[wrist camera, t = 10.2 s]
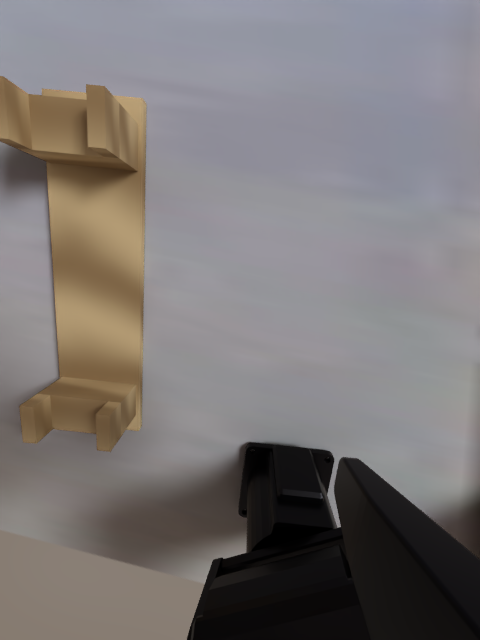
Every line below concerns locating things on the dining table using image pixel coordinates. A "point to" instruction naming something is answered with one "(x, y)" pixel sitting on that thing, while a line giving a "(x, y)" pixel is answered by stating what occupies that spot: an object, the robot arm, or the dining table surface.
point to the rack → (89, 253)
